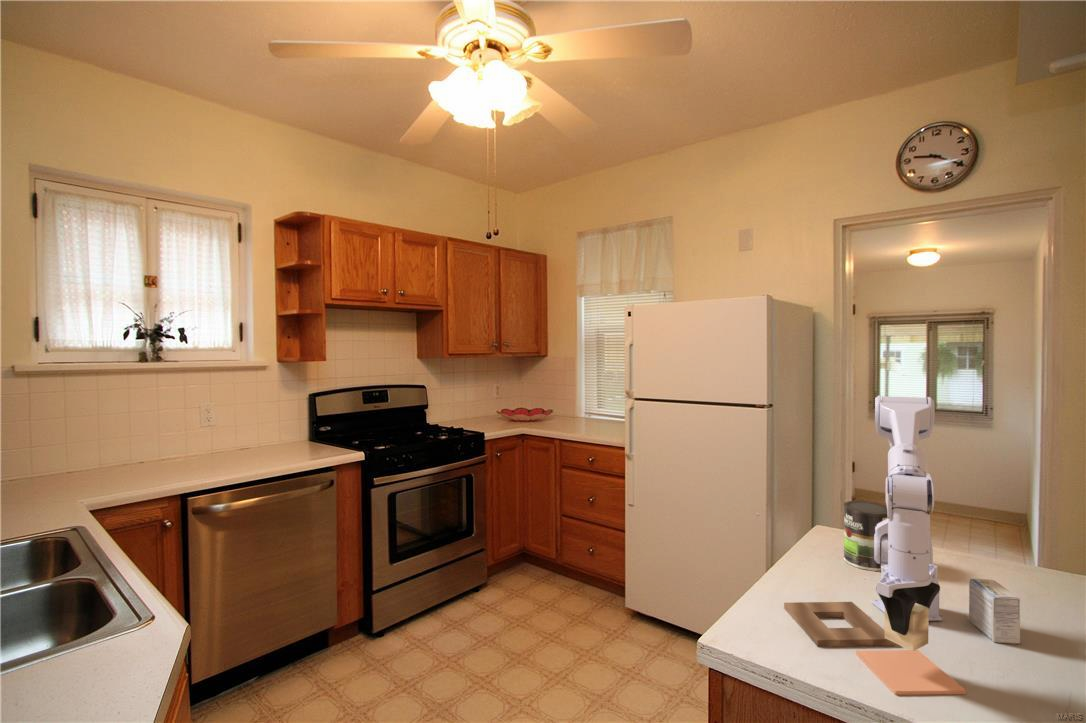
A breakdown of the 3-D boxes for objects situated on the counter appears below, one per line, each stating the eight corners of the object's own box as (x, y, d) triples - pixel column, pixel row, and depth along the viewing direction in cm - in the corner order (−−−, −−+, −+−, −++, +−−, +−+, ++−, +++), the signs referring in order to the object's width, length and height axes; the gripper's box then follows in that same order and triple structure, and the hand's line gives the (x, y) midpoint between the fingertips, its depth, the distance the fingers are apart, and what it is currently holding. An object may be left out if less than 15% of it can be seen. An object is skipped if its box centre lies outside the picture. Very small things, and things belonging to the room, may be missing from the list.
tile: (918, 653, 96) (918, 650, 96) (965, 694, 85) (965, 690, 85) (855, 654, 96) (855, 650, 96) (895, 694, 85) (895, 691, 85)
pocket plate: (851, 607, 112) (851, 601, 112) (894, 645, 98) (894, 639, 98) (784, 608, 113) (784, 602, 113) (817, 646, 99) (817, 640, 99)
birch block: (899, 630, 93) (899, 596, 93) (928, 643, 90) (928, 607, 89) (884, 638, 91) (884, 603, 91) (913, 651, 87) (913, 614, 87)
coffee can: (862, 573, 129) (862, 514, 128) (834, 555, 139) (834, 501, 138) (902, 570, 130) (902, 512, 129) (871, 553, 140) (871, 499, 139)
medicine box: (1020, 645, 98) (1021, 598, 98) (992, 643, 99) (993, 596, 98) (994, 622, 106) (994, 579, 105) (968, 620, 106) (968, 577, 106)
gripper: (907, 532, 97) (906, 606, 97) (858, 548, 90) (857, 628, 90) (952, 544, 90) (951, 624, 91) (903, 563, 83) (902, 649, 84)
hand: (907, 627), depth 90 cm, fingers closed on birch block, 4 cm apart
